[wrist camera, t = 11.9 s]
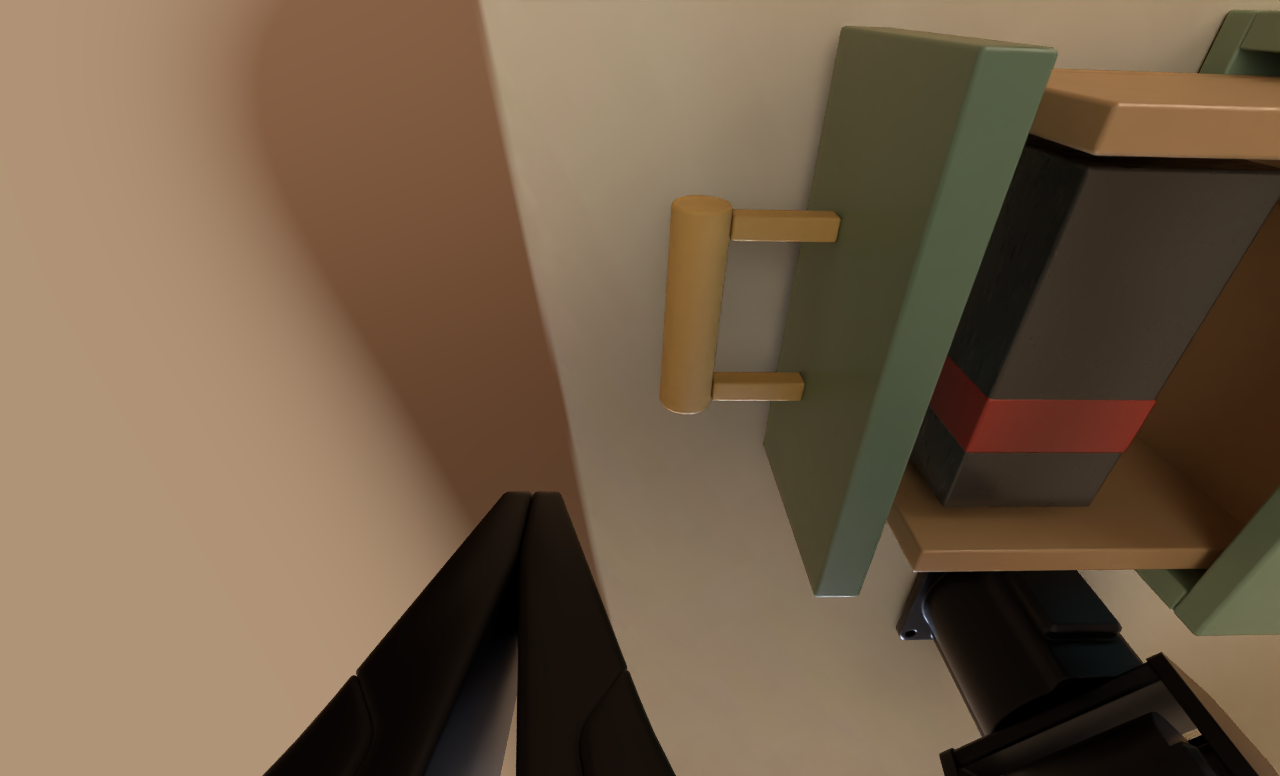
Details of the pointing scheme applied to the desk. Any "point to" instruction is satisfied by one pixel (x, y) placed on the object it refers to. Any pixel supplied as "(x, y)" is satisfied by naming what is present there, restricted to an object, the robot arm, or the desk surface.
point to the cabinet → (1276, 534)
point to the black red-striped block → (1081, 318)
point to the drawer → (936, 297)
